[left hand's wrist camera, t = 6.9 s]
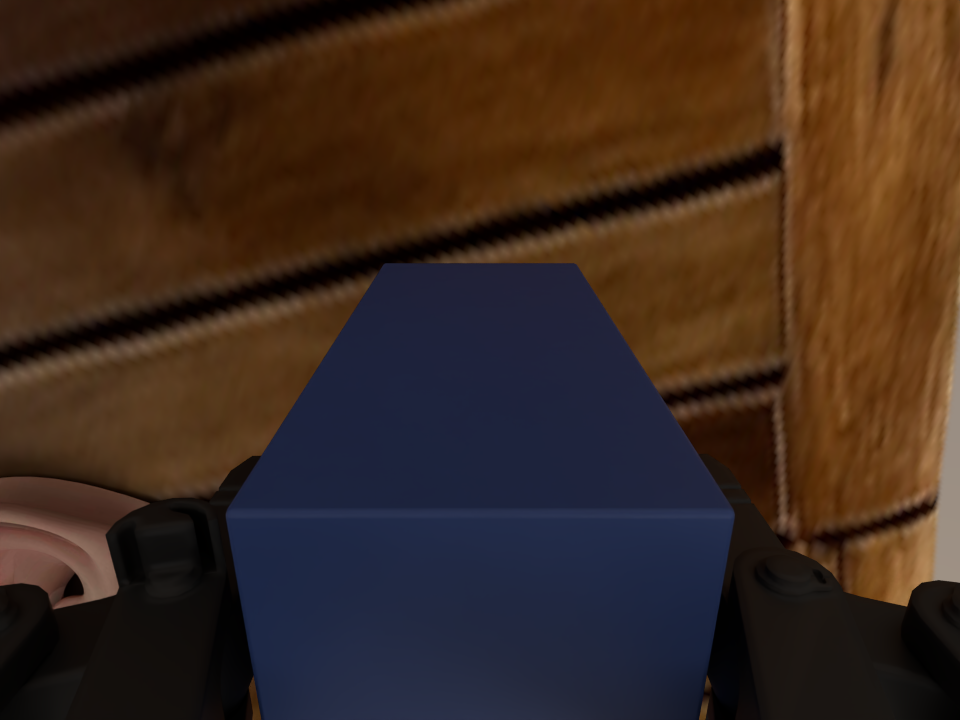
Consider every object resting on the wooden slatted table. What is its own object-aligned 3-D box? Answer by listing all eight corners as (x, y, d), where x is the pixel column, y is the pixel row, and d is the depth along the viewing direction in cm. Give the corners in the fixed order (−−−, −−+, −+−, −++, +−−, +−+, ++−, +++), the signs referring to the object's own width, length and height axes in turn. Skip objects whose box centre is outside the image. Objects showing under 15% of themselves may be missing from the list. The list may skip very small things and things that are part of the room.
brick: (577, 262, 15) (739, 511, 6) (564, 472, 18) (667, 909, 8) (383, 262, 15) (220, 512, 6) (395, 473, 18) (292, 909, 8)
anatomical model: (250, 662, 26) (86, 792, 28) (279, 593, 29) (132, 714, 32) (-42, 451, 22) (-197, 624, 25) (33, 403, 26) (-109, 558, 29)
